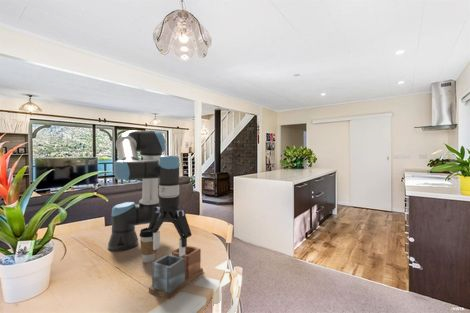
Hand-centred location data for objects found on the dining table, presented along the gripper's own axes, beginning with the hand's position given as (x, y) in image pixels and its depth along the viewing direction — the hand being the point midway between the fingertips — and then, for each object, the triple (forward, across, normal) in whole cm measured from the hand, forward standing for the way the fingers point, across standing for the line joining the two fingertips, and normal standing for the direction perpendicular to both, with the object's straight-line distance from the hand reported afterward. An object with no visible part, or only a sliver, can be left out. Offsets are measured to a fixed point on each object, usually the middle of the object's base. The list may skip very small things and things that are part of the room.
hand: (168, 251), depth 87 cm
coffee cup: (+14, -25, +13) cm, 32 cm away
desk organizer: (+14, 0, +5) cm, 15 cm away
